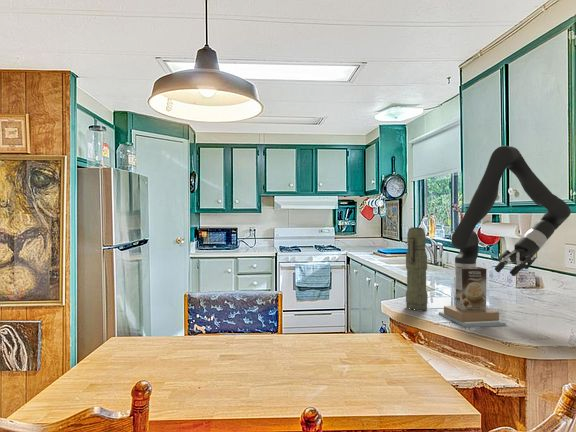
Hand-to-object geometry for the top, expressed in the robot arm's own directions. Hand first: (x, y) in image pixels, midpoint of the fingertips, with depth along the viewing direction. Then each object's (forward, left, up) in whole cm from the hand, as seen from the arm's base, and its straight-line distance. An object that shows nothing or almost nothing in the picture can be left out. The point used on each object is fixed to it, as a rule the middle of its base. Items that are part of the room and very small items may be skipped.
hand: (503, 272), depth 147 cm
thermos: (-20, -26, -18) cm, 37 cm away
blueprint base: (0, -14, -18) cm, 23 cm away
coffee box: (0, -14, -14) cm, 20 cm away
